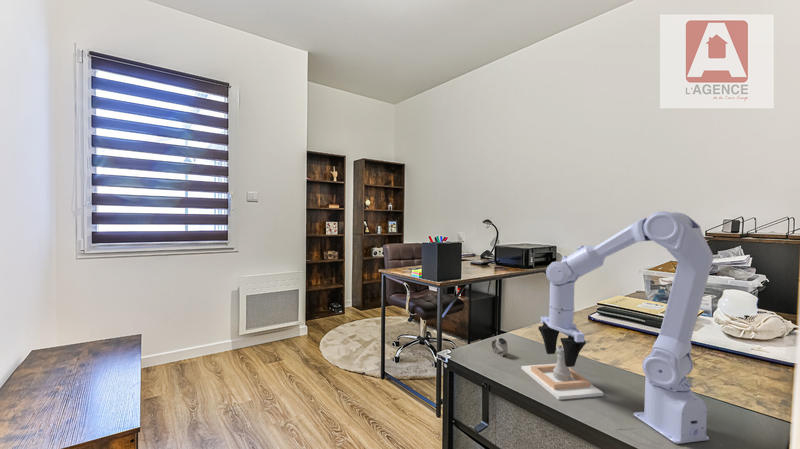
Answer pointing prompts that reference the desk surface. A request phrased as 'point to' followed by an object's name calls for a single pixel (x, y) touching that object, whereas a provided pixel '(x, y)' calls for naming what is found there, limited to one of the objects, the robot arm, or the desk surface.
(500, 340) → the wristwatch
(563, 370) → the rook chess piece
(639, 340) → the desk surface
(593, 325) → the desk surface
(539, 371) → the socket holder
